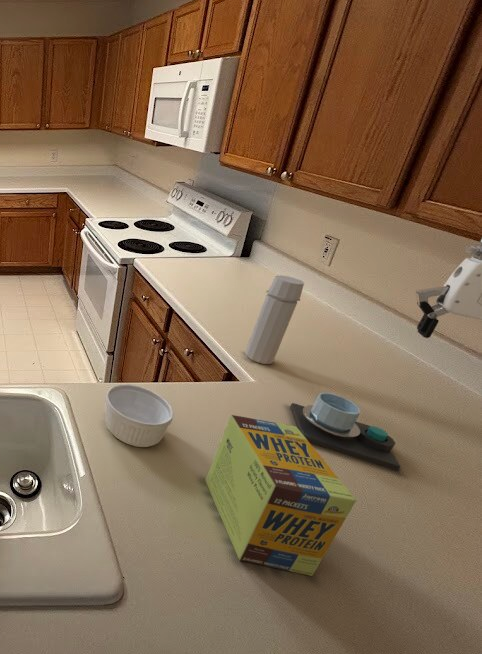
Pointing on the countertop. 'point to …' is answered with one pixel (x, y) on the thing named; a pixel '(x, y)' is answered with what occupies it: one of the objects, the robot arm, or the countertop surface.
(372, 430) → the tare button
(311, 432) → the scale
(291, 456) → the protein box
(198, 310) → the countertop surface
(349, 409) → the bowl
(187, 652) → the countertop surface
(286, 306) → the water bottle
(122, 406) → the ramekin
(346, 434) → the scale plate
